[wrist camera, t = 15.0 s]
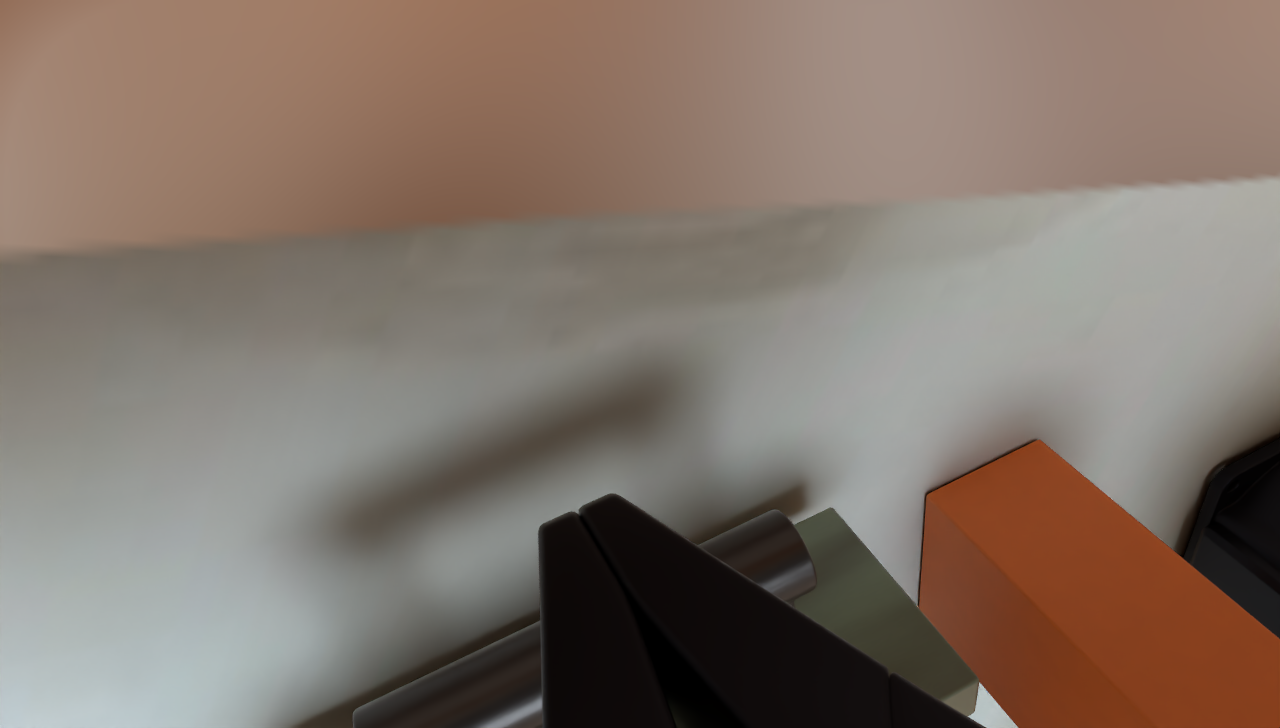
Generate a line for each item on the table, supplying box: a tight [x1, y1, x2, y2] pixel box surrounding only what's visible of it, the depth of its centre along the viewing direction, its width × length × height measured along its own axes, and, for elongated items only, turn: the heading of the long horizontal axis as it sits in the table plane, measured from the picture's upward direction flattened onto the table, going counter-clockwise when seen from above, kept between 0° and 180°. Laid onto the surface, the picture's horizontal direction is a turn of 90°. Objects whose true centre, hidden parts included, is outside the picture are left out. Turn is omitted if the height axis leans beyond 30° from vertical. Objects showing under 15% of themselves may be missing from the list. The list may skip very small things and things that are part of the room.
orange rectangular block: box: [919, 440, 1280, 728], centre depth 22 cm, size 5×4×8 cm
